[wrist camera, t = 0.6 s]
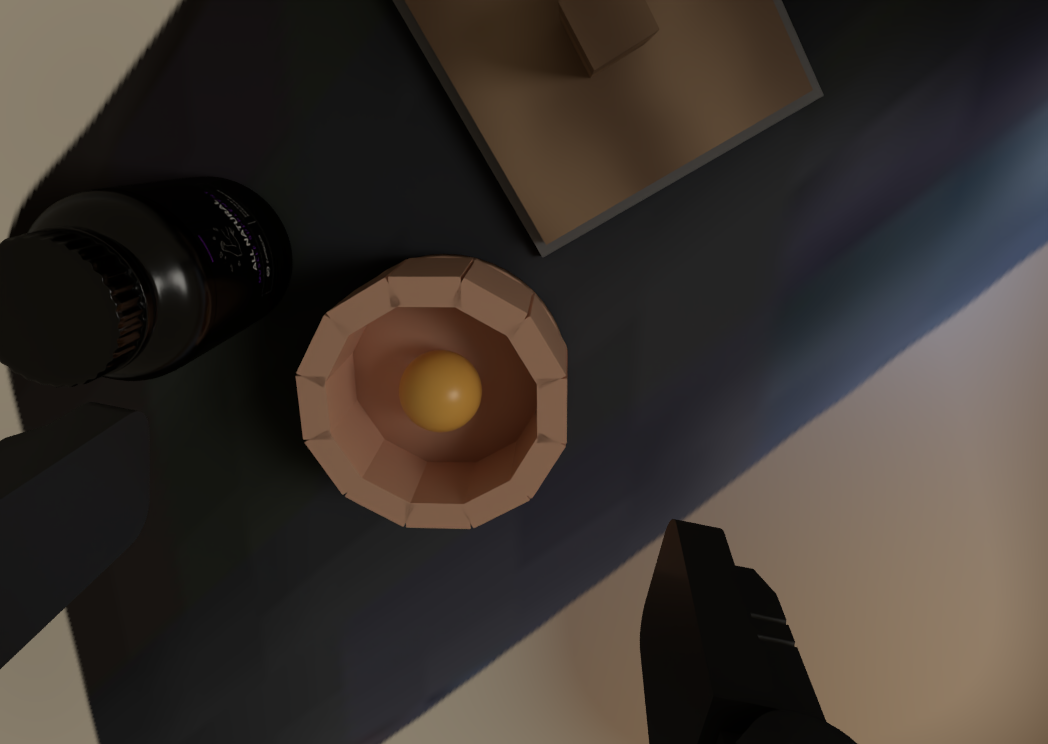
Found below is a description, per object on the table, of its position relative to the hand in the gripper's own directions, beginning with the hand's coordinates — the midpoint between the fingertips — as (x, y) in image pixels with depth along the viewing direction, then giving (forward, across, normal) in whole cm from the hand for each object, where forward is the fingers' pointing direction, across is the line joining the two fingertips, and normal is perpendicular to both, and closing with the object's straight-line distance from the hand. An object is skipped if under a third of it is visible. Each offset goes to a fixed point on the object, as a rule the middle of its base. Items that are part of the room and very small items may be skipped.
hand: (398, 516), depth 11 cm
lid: (+22, -2, -9) cm, 24 cm away
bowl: (+23, +2, +6) cm, 24 cm away
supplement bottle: (+23, +13, +3) cm, 27 cm away
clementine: (+22, +2, +6) cm, 23 cm away
